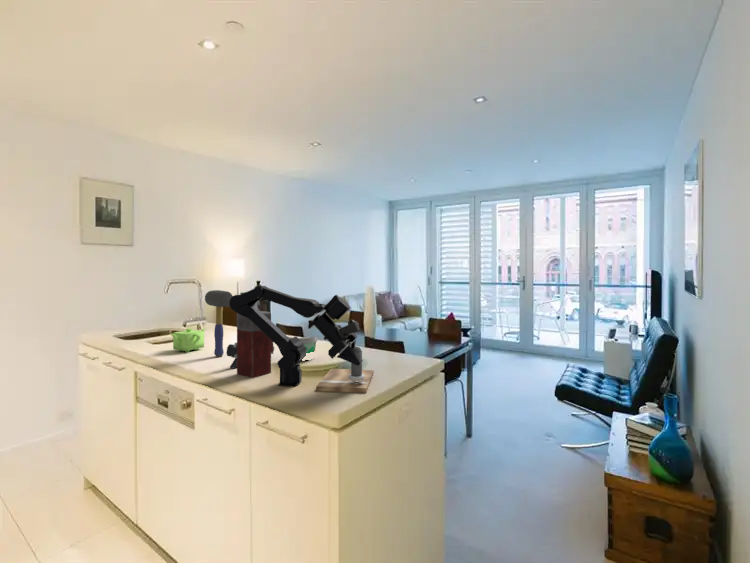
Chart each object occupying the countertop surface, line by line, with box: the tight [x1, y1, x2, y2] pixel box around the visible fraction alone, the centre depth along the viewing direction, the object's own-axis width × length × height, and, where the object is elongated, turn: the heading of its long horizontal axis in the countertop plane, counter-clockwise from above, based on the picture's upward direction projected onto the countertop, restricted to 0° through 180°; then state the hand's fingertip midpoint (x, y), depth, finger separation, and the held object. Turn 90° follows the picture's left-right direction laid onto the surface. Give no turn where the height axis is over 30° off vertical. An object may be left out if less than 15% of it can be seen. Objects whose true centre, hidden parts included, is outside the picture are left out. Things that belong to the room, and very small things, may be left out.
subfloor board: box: [315, 368, 375, 394], centre depth 137 cm, size 16×23×2 cm
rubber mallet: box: [204, 289, 234, 358], centre depth 176 cm, size 12×8×30 cm, turn 55°
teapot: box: [169, 328, 207, 353], centre depth 189 cm, size 15×13×11 cm
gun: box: [226, 342, 275, 369], centre depth 163 cm, size 2×25×10 cm, turn 151°
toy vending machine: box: [236, 300, 274, 379], centre depth 148 cm, size 9×11×28 cm
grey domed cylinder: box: [349, 346, 364, 381], centre depth 131 cm, size 5×5×11 cm
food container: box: [290, 336, 318, 353], centre depth 170 cm, size 12×6×10 cm, turn 105°
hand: (360, 363), depth 131 cm, fingers closed on grey domed cylinder, 3 cm apart
